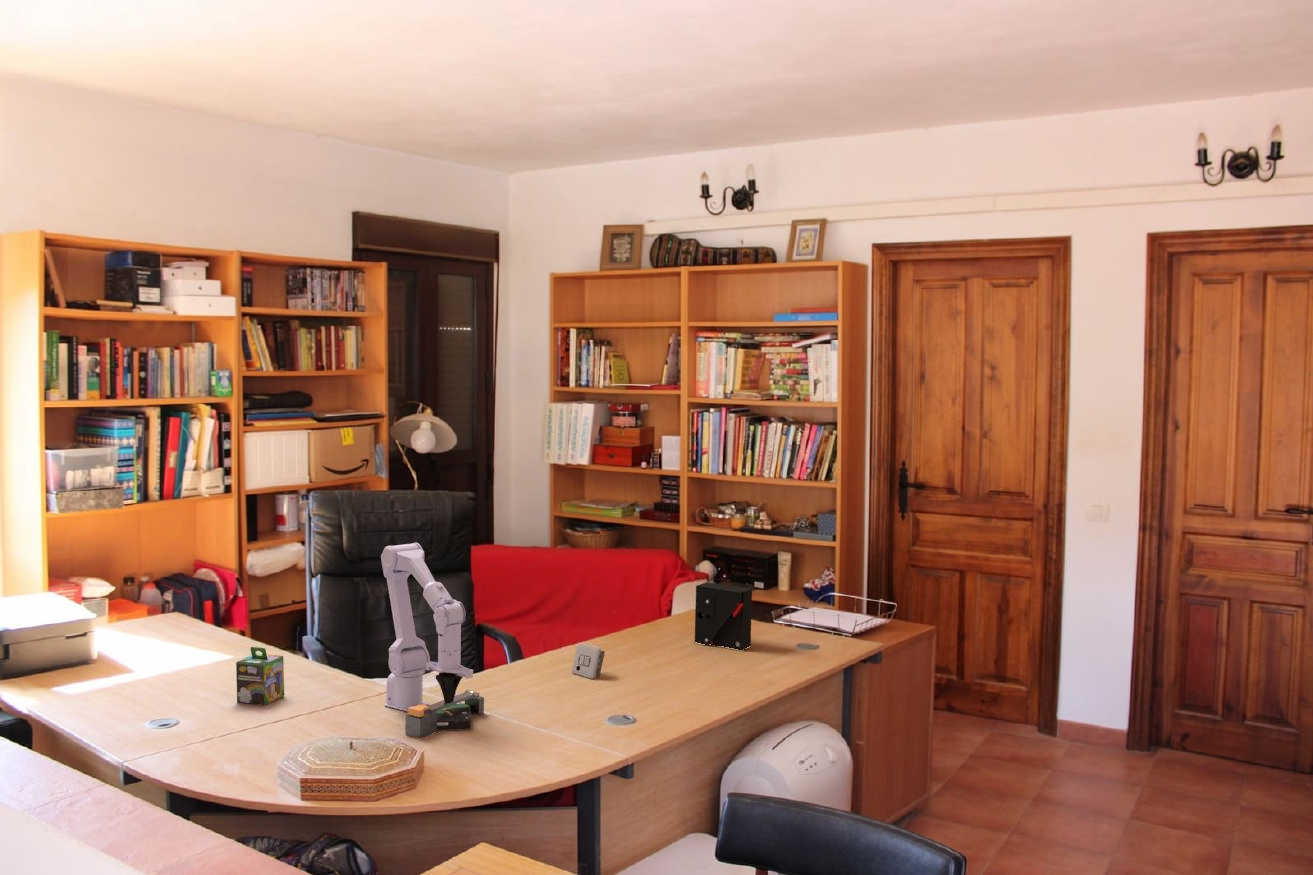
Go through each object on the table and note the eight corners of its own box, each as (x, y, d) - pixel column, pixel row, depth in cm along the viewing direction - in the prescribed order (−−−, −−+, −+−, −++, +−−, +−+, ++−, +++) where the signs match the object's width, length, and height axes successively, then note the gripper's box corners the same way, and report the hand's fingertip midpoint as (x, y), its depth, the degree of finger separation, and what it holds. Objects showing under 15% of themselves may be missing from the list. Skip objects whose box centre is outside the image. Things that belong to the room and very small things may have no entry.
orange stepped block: (407, 714, 268) (407, 707, 268) (418, 710, 271) (418, 703, 271) (419, 717, 266) (419, 710, 266) (430, 713, 269) (430, 706, 269)
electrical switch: (570, 673, 325) (573, 643, 326) (582, 672, 329) (585, 642, 329) (592, 680, 319) (595, 649, 319) (604, 678, 323) (607, 647, 323)
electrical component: (753, 646, 363) (755, 587, 362) (739, 652, 354) (741, 592, 353) (708, 638, 372) (709, 581, 371) (693, 644, 364) (695, 586, 363)
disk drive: (472, 730, 273) (470, 712, 287) (472, 720, 273) (470, 702, 287) (430, 731, 271) (430, 713, 285) (430, 721, 270) (431, 703, 285)
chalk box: (285, 696, 297) (285, 644, 296) (264, 706, 288) (264, 652, 287) (256, 693, 300) (256, 641, 299) (235, 702, 291) (235, 649, 290)
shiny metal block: (405, 734, 268) (405, 715, 268) (469, 710, 289) (469, 691, 288) (420, 738, 266) (420, 719, 265) (483, 713, 286) (484, 695, 286)
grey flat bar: (421, 711, 272) (421, 706, 272) (467, 694, 287) (468, 689, 287) (432, 714, 270) (432, 709, 270) (479, 697, 285) (479, 691, 285)
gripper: (417, 648, 277) (417, 700, 278) (460, 657, 270) (459, 710, 270) (436, 643, 283) (436, 693, 284) (478, 651, 276) (478, 703, 276)
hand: (449, 701), depth 278 cm, fingers closed, pressing on grey flat bar
